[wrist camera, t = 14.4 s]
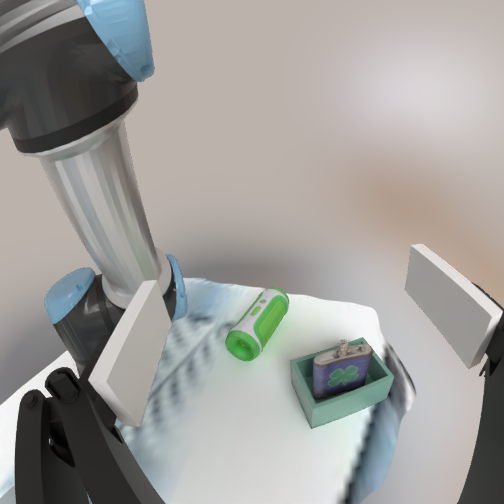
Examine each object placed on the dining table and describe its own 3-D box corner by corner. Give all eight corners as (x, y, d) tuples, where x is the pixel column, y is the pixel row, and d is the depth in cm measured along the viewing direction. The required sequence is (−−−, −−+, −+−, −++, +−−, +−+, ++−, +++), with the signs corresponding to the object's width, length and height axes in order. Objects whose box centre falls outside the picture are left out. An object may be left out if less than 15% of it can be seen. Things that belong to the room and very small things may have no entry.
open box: (291, 382, 43) (290, 360, 41) (359, 360, 45) (362, 337, 43) (311, 428, 34) (312, 409, 32) (386, 398, 36) (394, 376, 33)
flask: (313, 401, 38) (315, 357, 33) (309, 388, 40) (310, 343, 36) (367, 388, 38) (378, 342, 33) (361, 376, 40) (370, 330, 36)
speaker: (264, 309, 66) (260, 283, 63) (292, 314, 62) (290, 287, 59) (227, 357, 52) (219, 329, 49) (259, 367, 48) (254, 338, 45)
